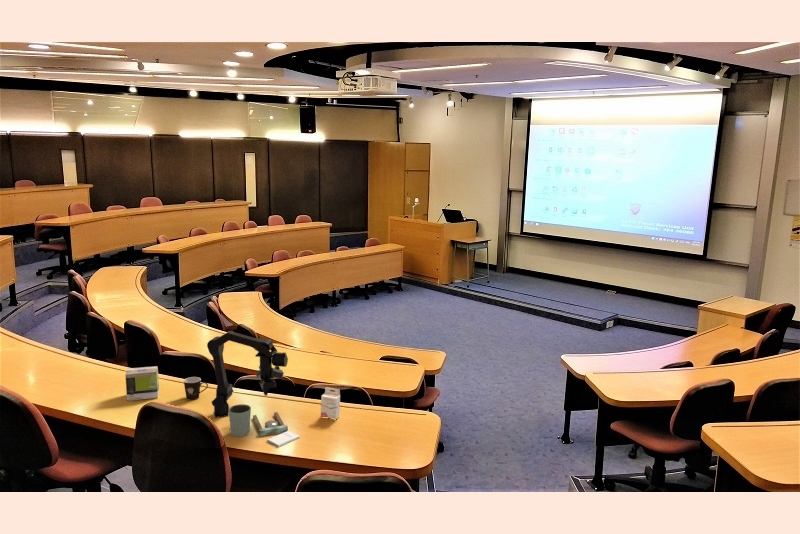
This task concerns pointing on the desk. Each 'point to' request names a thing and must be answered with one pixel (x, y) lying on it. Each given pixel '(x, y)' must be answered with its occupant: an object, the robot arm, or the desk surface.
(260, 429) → the channel
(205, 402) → the desk surface
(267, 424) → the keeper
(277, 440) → the external hard drive
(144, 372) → the tea box
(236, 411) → the pale green cup
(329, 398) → the ink cartridge box
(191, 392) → the coffee mug
